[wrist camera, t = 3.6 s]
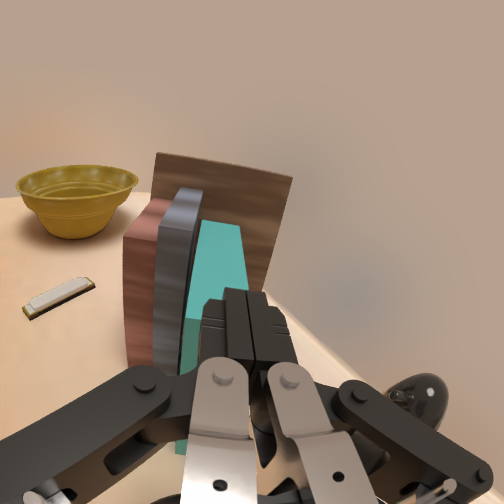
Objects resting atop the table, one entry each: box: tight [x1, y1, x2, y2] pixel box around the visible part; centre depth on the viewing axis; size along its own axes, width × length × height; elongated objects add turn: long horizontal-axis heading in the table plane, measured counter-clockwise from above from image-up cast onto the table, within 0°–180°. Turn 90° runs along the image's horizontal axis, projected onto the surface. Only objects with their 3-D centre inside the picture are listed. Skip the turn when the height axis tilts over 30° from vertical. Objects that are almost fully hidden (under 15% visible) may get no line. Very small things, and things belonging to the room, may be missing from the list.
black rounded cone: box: [355, 373, 449, 451], centre depth 24 cm, size 10×10×15 cm
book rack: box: [123, 152, 293, 376], centre depth 35 cm, size 15×18×25 cm
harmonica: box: [22, 277, 95, 321], centre depth 40 cm, size 15×3×2 cm, turn 154°
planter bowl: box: [16, 165, 138, 239], centre depth 60 cm, size 32×32×13 cm
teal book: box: [175, 220, 249, 455], centre depth 27 cm, size 16×4×20 cm, turn 5°
